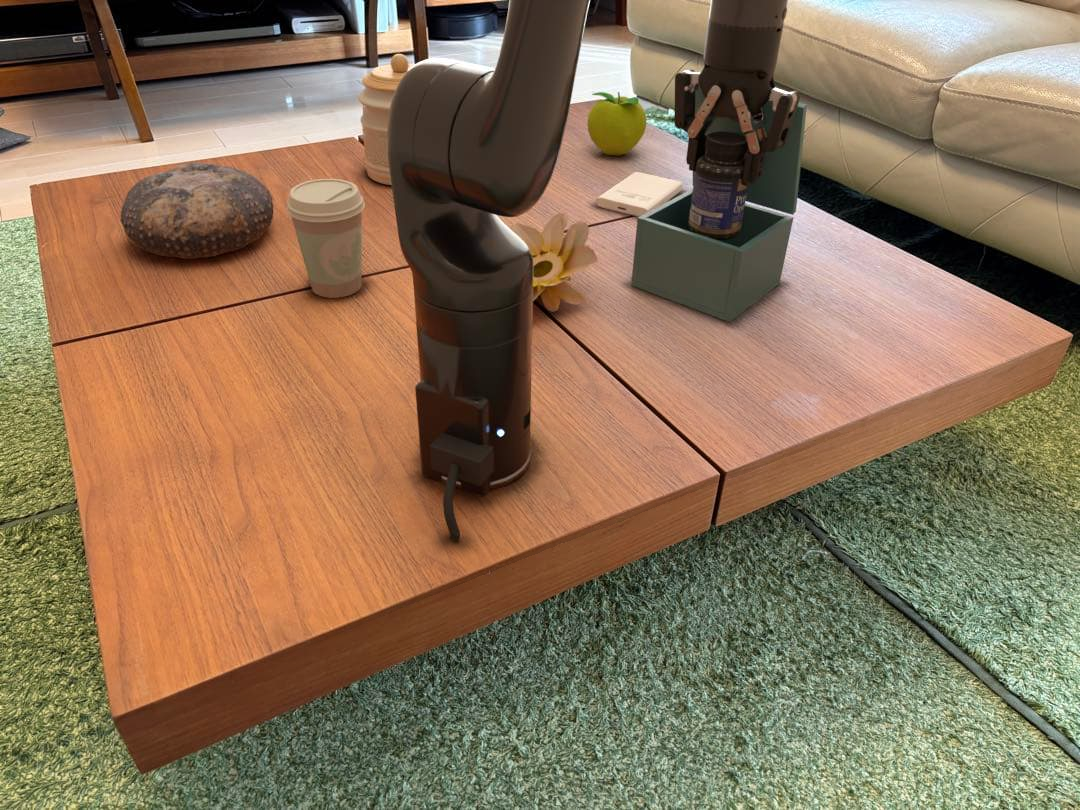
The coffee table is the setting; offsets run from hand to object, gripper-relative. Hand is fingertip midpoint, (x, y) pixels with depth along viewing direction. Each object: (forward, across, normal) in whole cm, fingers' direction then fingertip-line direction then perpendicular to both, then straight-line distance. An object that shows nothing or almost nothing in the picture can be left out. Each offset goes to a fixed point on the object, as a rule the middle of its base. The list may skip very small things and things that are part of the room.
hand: (722, 176), depth 94 cm
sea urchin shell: (+14, -57, -33) cm, 67 cm away
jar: (+14, -55, +2) cm, 57 cm away
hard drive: (+14, -22, +18) cm, 31 cm away
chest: (+14, 0, 0) cm, 14 cm away
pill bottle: (+7, 0, 0) cm, 7 cm away
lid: (-2, 0, +4) cm, 5 cm away
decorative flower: (+14, -15, -16) cm, 26 cm away
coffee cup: (+14, -33, -30) cm, 47 cm away
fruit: (+14, -36, +32) cm, 50 cm away
